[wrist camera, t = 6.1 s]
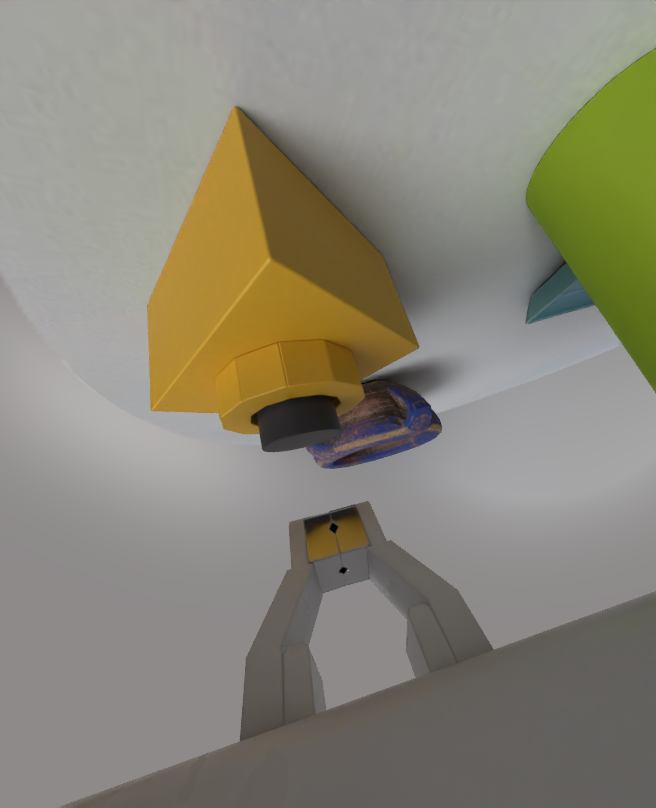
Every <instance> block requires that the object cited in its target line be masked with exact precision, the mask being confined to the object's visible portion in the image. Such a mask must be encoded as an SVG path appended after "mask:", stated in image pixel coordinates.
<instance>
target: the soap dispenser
mask: <svg viewBox="0 0 656 808" xmlns="http://www.w3.org/2000/svg"><path fill="white" fill-rule="evenodd" d="M526 201H527V205H528V207H529V209H530V210H531V211H532V213H533V214H534V216H535V217H536V219H537V220H538V222H539V223H540V225H541V226H542V228H543V229H544V230H545V232H546V233H547V235H548V236H549V238H550V239H551V241H552V242H553V244H554V245H555V246H556V248H557V249H558V251H559V252H560V254H561V255H562V257H563V258H564V260H565V261H566V263H567V264H568V265H569V267H570V268H571V270H572V271H573V273H574V274H575V276H576V277H577V279H578V280H579V282H580V283H581V284H582V286H583V287H584V289H585V290H586V292H587V293H588V295H589V296H590V298H591V299H592V301H593V302H594V303H595V305H596V306H597V308H598V309H599V311H600V312H601V314H602V315H603V317H604V318H605V319H606V321H607V322H608V324H609V325H610V327H611V328H612V330H613V331H614V333H615V334H616V336H617V337H618V338H619V340H620V341H621V343H622V344H623V346H624V347H625V349H626V350H627V352H628V353H629V354H630V356H631V357H632V359H633V360H634V362H635V363H636V365H637V366H638V368H639V369H640V371H641V372H642V373H643V375H644V376H645V378H646V379H647V381H648V382H649V384H650V385H651V387H652V388H653V389H654V391H655V392H656V49H654V50H652V51H651V52H649V53H648V54H646V55H645V56H643V57H642V58H640V59H639V60H637V61H636V62H635V63H633V64H632V65H630V66H629V67H628V68H627V69H625V70H624V71H623V72H621V73H620V74H619V75H618V76H617V77H615V78H614V79H613V80H612V81H611V82H609V83H608V84H607V85H606V86H605V87H604V88H603V89H602V90H600V91H599V92H598V93H597V94H596V95H595V96H594V97H593V98H592V99H591V100H590V101H589V102H588V103H587V104H586V105H585V106H584V107H583V108H582V109H581V110H580V111H579V112H578V113H577V114H576V115H575V117H574V118H573V119H572V120H571V121H570V122H569V123H568V124H567V126H566V127H565V128H564V129H563V130H562V132H561V133H560V134H559V135H558V137H557V138H556V139H555V140H554V142H553V143H552V144H551V146H550V147H549V149H548V150H547V152H546V153H545V154H544V156H543V158H542V159H541V161H540V162H539V164H538V166H537V168H536V170H535V171H534V173H533V176H532V178H531V180H530V183H529V186H528V189H527V195H526Z"/></svg>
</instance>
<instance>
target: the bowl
mask: <svg viewBox="0 0 656 808" xmlns="http://www.w3.org/2000/svg"><path fill="white" fill-rule="evenodd" d="M362 387H363V390H364V393H365V398H364V399H363V400H362V401H361V402H360V403H358V404H357V405H356V406H355V407H354V408H353V409H351V410H350V411H347V412H345V413H343V414H341V415H339V416H338V419H339V423H340V427H341V433H340V434H339V435H338V436H336V437H334V438H332V439H329V440H327V441H324V442H321V443H318V444H315V445H311V446H307V447H306V448H307V450H308V452H310V453H311V454H312V455H313V456H314V459H315V461H316V463H317V464H318V465H319V466H320V467H323V468H331V469H333V468H334V469H335V468H342V467H349V466H354V465H358V464H362V463H366V462H370V461H374V460H377V459H381V458H384V457H387V456H391V455H394V454H397V453H400V452H403V451H406V450H409V449H412V448H415V447H417V446H420V445H422V444H424V443H427V442H429V441H431V440H432V439H434V438H436V437H437V435H439V434H440V433H441V431H442V425H441V422H440V419H439V418H438V416H437V415H436V414H435V412H434V411H433V410H432V409H431V405H430V404H428V403H427V402H426V400H425V399H424V398H422V397H421V396H420V395H419V394H418V393H417V392H416V391H414V390H412V389H410V388H408V387H406V386H404V385H400V384H396V383H392V382H390V381H374V382H370V383H366V384H363V385H362Z"/></svg>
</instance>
